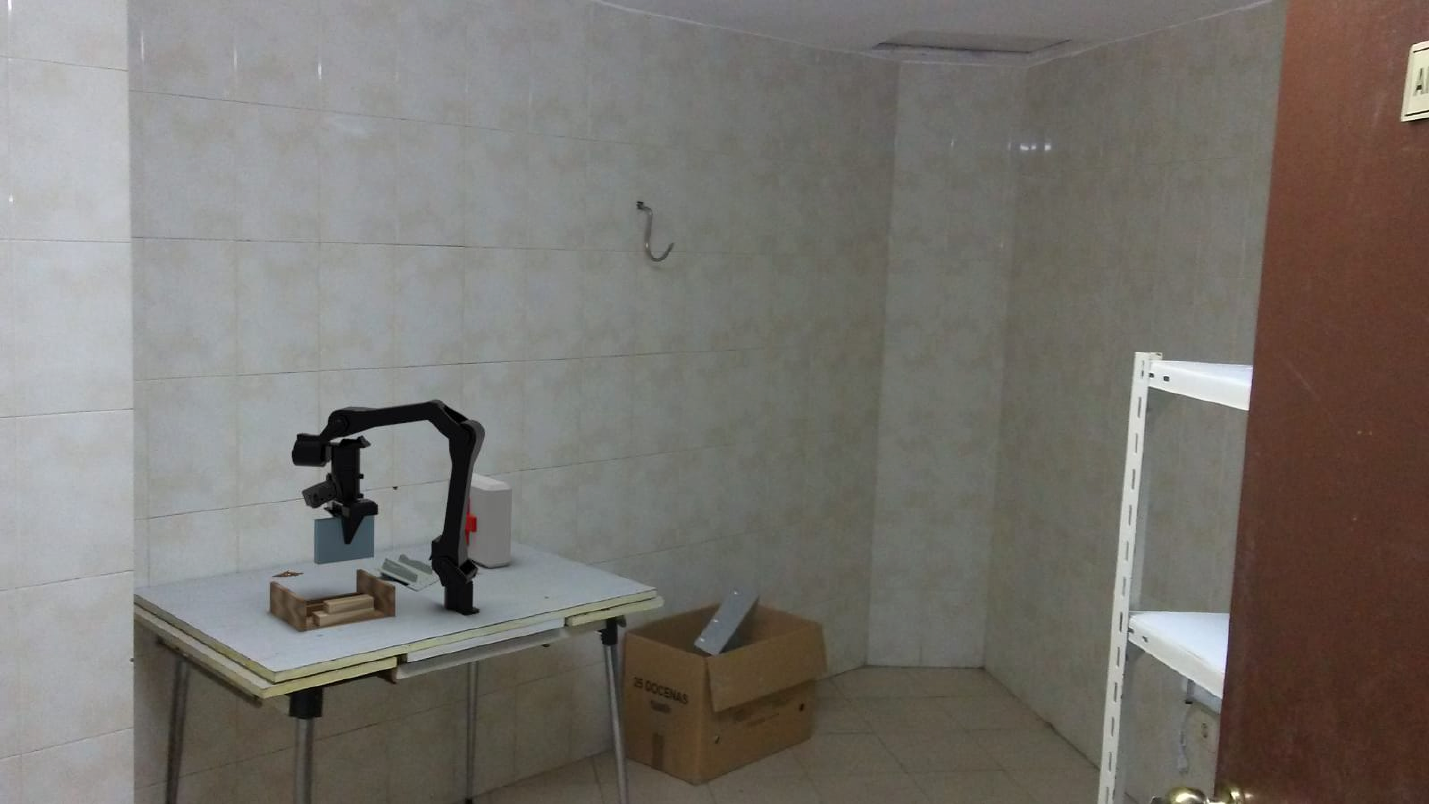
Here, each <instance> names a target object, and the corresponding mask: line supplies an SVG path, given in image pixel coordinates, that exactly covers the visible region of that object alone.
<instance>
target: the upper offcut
mask: <svg viewBox="0 0 1429 804" xmlns="http://www.w3.org/2000/svg"><path fill="white" fill-rule="evenodd" d="M369 608H374V598H373V597H371V596H369V595H367V594H366V595H359V596H353V597H346V598H340V599H333V600H327V601H323V611H324V612H325V613H327V614H329V615H332V614H338V613H344V612H350V611H356V610H362V609H369Z"/></svg>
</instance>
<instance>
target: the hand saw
mask: <svg viewBox="0 0 1429 804" xmlns="http://www.w3.org/2000/svg"><path fill="white" fill-rule="evenodd" d="M303 573H304V572H292V571H290V570H287V571H286V570H285V571H284V572H282V573H280V574H279V573H278V574H275V575H273V576H271V577H277V578H281V577H286V578H290V577H292V576H294V577H297V576H300V574H301V575H304V574H303ZM284 574H285V575H284ZM286 574H287V575H286ZM288 574H290V575H288Z"/></svg>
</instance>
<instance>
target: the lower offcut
mask: <svg viewBox="0 0 1429 804" xmlns="http://www.w3.org/2000/svg"><path fill="white" fill-rule="evenodd" d="M370 618H374V608H369V609H362V610H356V611H350V612H344V613H338V614H332V615H329V614H327V613H325V612H324V611H318V612H313V620H312V622H313V623H314V624H316V625H317V626H319V627H323V626H329V625H335V624H340V623H346V622H352V621H358V620H364V619H370Z"/></svg>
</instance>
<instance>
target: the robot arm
mask: <svg viewBox="0 0 1429 804" xmlns="http://www.w3.org/2000/svg"><path fill="white" fill-rule="evenodd" d="M423 421H424V422H425V421H428V422H429V423H431V424H432V425H433V426H434V428H436V430H437V431H438V432H439V433H440V434H442V435H443V436H444V437H445V438H447V439H448V452H449V457H450V461H451V469H450V475H451V477H450V484H449V491H448V490H447V500H446V507H445V515H444V523H443V529H442V533H441V534H439V535H438V536H436V537H435V538H434V539H432V541H431V545H430V549H431V552H430V556H429V558H428V561H430V562H431V563H430V564H431V566H432V570H433V572H435V573H436V574H437V575H438V576H439V579H440V581H439V582H440V585H441V586H442V587H443V588H444V589H443V590H444V591H443V595H444V597H443V605H444V609H445V610H448V611H453V612H454V611H455V612H456V613H458V614H460V615H464V616H466V615H470V613H471V614H475V613H479V612H480V608H477V607H475V606H474V581H473V579H475V578H476V577H477V573H478V572H479V568H478V566H477V565H476V564H475V563H474V561H472V560H470V559H469V558H468V549H467V540H466V536H465V524H466V517H467V510H468V503H469V495H470V488H471V481H472V474H473V473H474V472H473V471H474V467H475V463H476V460H477V458H478V456H479V454H480V452H481V449H482V446H483V445H484V444H483V443H484V441H485V436H486V430H485V428H484V427H483V425H482V424H481V423H480V422H479V421H477V420H476V419H475V420H474V419H470V418H468V417H467V416H465V415H464V414H462V413H461V412H459V411H457V410H455V409H453V408H452V407H450V406H449V405H447V404H446V403H444V401H442V400H440V399H436V398H435V399H431V400H429V401H428V400H427V401H423V402H415V403H406V404H400V405H393V406H387V407H386V406H385V407H379V408H378V407H377V408H375V407H369V406H368V407H367V406H352V405H351V406H347V407H342V408H339V409H335V410H333V411H332V412H330V414H329V416H328V418H327V424H326V426H325V427H324V428H323V429H322V431H321V432H320V433H319V434H314V433H313V434H311V433H307V432H300V433H297V434H296V440H295V441H294V444H293V447H292V450H291V462H292V463H293V465H294V466H295V467H308V468H309V467H310V468H325V467H326V466H327V464H328V463H330V472H327V474H326V475H325V480H324V481H322V482H319V483H316V484H313V485H312V486H310V487H308V488H305V489H303V490H302V491H301V495H302V497H303V499H304V503H305V505H306V507H310V508H311V509H318V508H321V507H322V506H323V505H325V504H326V507H324V506H323V508H322V509H323V510H324V511H325V512H327V513H328V514H329V515H330V516H331V517H339V518H340V519H341V521H342V529H343V537H344V543H345V544H346V545H348V544H351V542H352V540H353V538H354V536H355V534H356V532H357V530H358V528H359V526H360V524H361V522H362V520H363V519H364V517H365V516H373V515H374V516H378V515H379V505H378V503H377V502H375V501H374V500H372V499H369V498H365V497H364V495H365V494H364V493H363V492H361V480H364V479H365V474H364V473H361V449H362V450H363V449H366V448H369V447H371V446H372V443H371V442H370V441H368V440H367V439H366V438H365V436H364V435H359V436H357V437H356V438H346V437H350V436H352V435H353V436H354V435H355V434H359V433H362V432H364V431H368V430H370V429H374V428H378V427H387V426H393V425H394V426H395V425H400V424H408V423H409V424H411V423H416V422H423ZM340 438H342V439H341V440H340V442H338V441H337V442H335V441H334V440H337V439H340Z"/></svg>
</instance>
